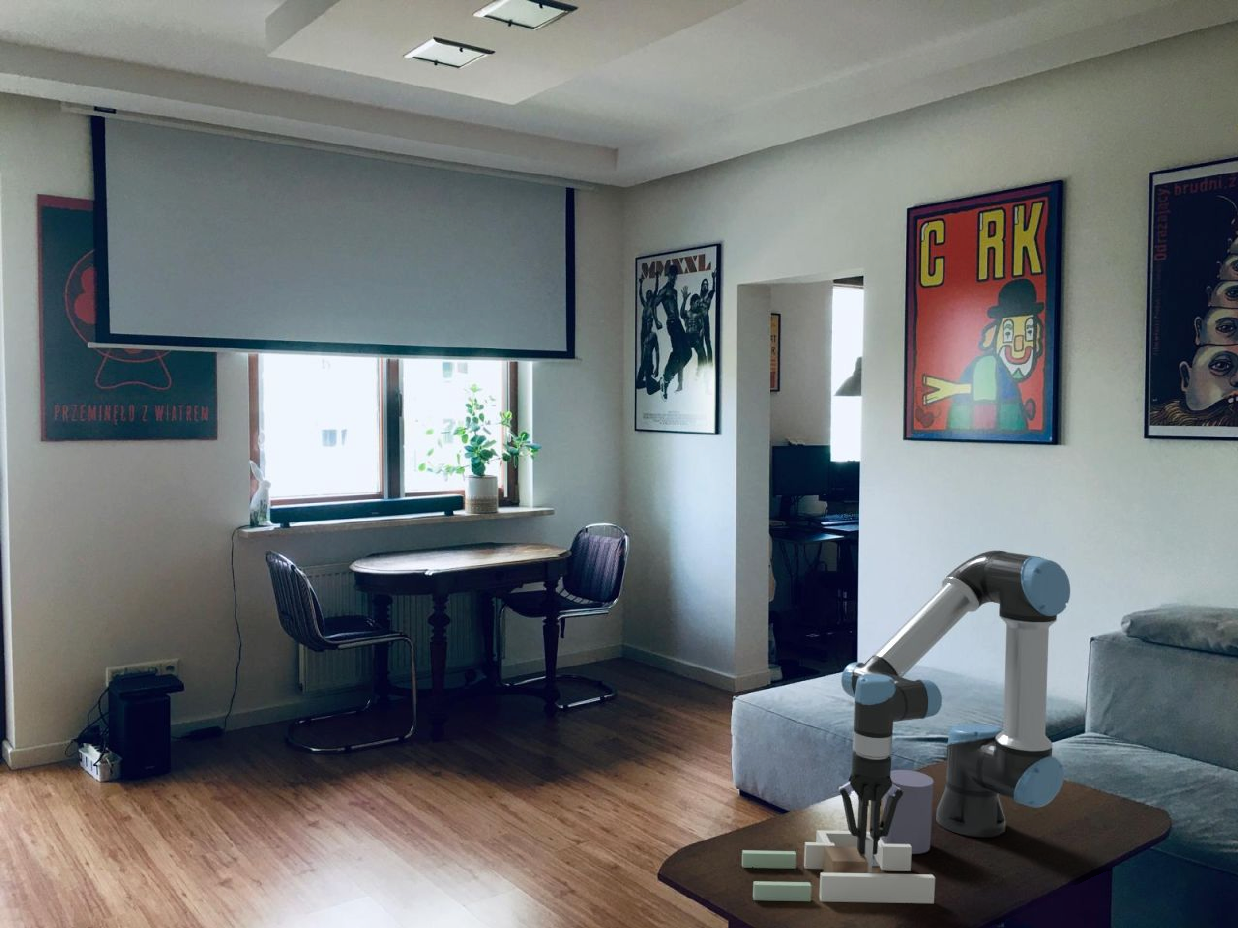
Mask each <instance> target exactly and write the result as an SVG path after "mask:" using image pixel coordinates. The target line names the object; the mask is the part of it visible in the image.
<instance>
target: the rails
mask: <svg viewBox="0 0 1238 928" xmlns="http://www.w3.org/2000/svg"><path fill="white" fill-rule="evenodd" d="M741 867H742V868H743V869H747V868H748V869H749V868H750V869H751V868H752V867H753V868H752V869H788V870H789V869H796V868H797V853H796V851H795V850H755V849H753V850H752V849H751V850H749V849H747V850H745V849H742V850H741ZM752 886H753V887H752V898H753V901H780V902H781V901H784V902H785V901H786V902H787V901H789V902H795V901H796V902H812V887H813V886H812V884H811V882H810V881H809V882H808V881H805V882H804V881H757V880H756V881H755V880H754V881H753V883H752Z"/></svg>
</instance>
